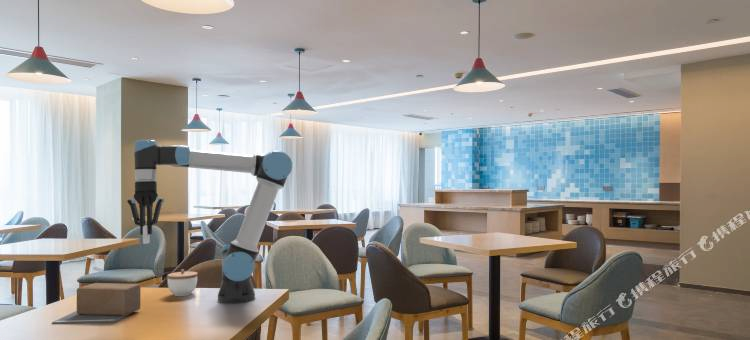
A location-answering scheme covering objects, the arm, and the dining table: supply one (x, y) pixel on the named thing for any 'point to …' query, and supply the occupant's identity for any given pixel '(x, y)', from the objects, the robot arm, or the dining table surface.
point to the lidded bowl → (182, 282)
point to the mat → (87, 318)
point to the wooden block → (108, 299)
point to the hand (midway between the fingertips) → (146, 243)
